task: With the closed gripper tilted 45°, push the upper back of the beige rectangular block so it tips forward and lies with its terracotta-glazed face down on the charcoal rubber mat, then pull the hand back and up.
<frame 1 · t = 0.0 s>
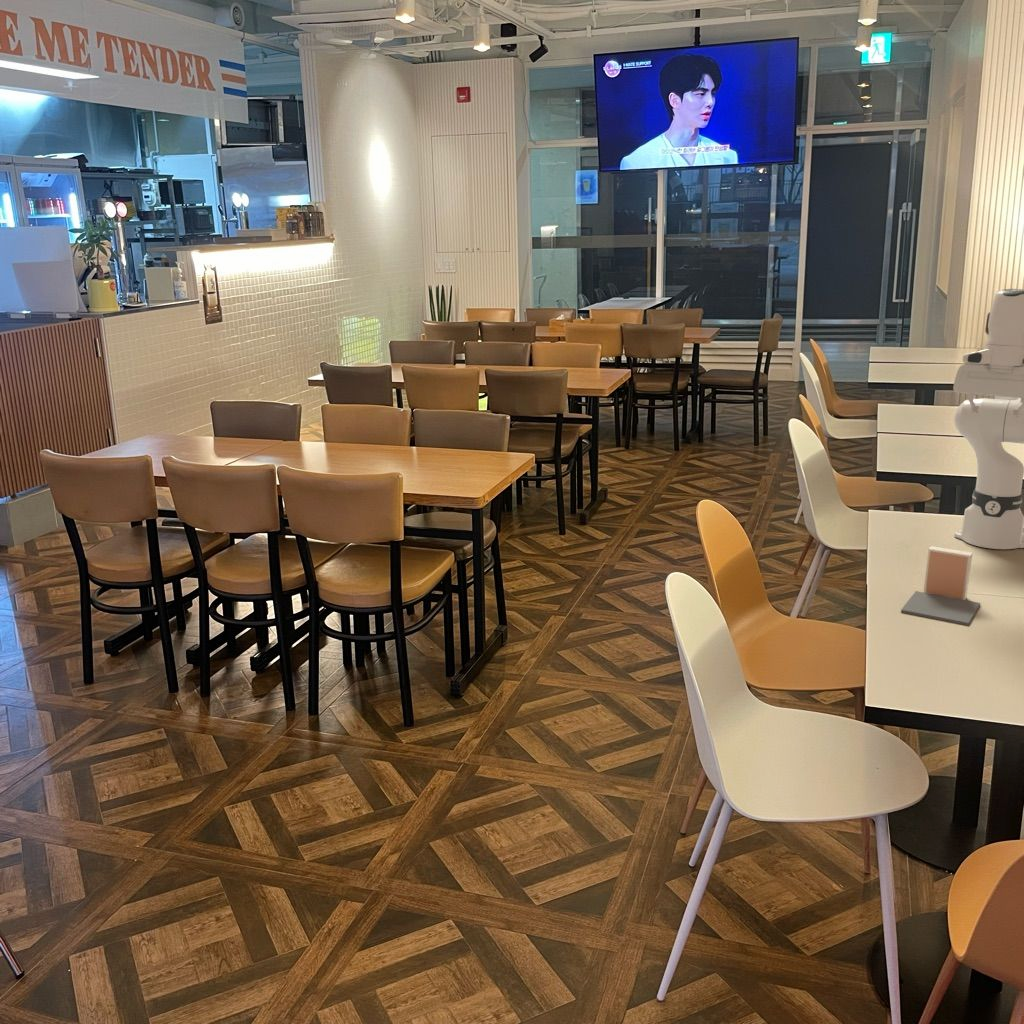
hand: (995, 415, 241), 39 cm above the table, fingers open, 8 cm apart
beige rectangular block: (944, 595, 231), on the table
charcoal mat: (940, 608, 223), on the table
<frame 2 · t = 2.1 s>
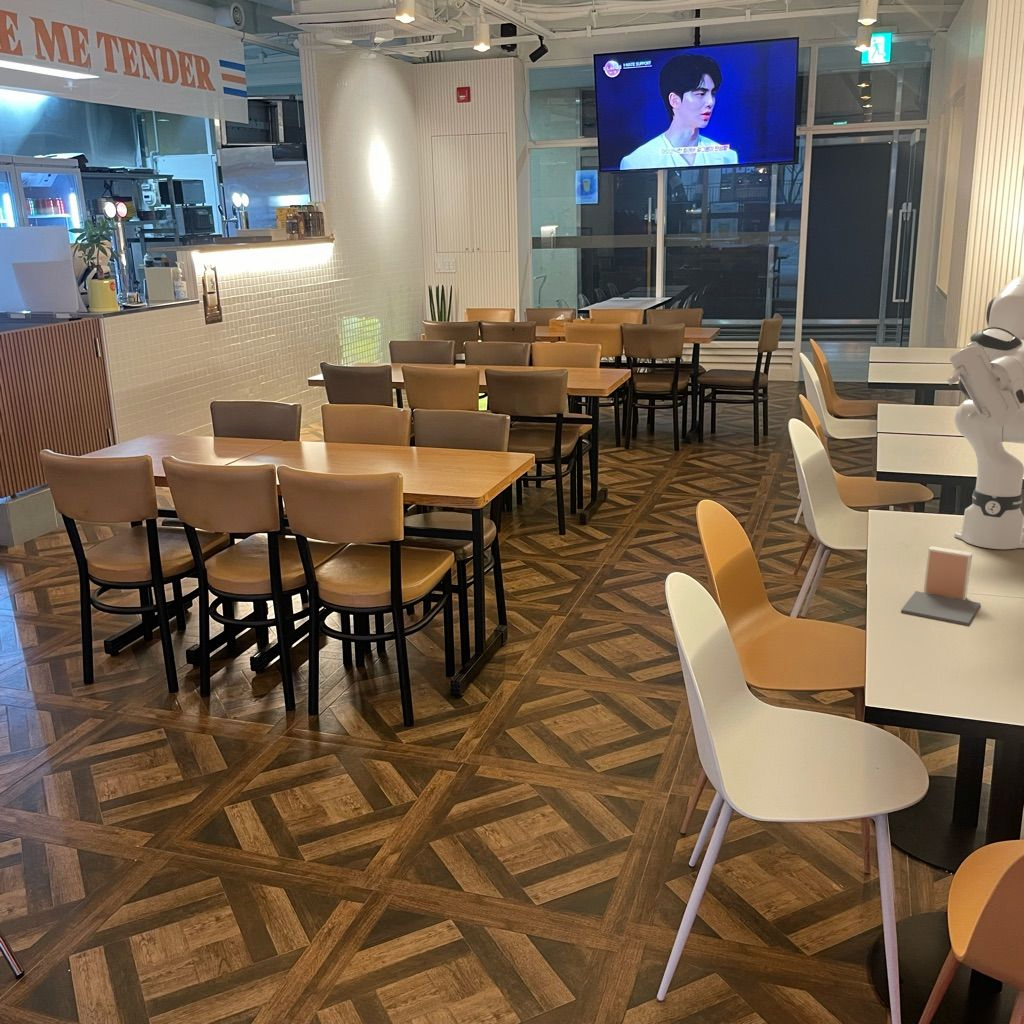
hand: (960, 399, 227), 45 cm above the table, fingers open, 8 cm apart
nothing on the table moved.
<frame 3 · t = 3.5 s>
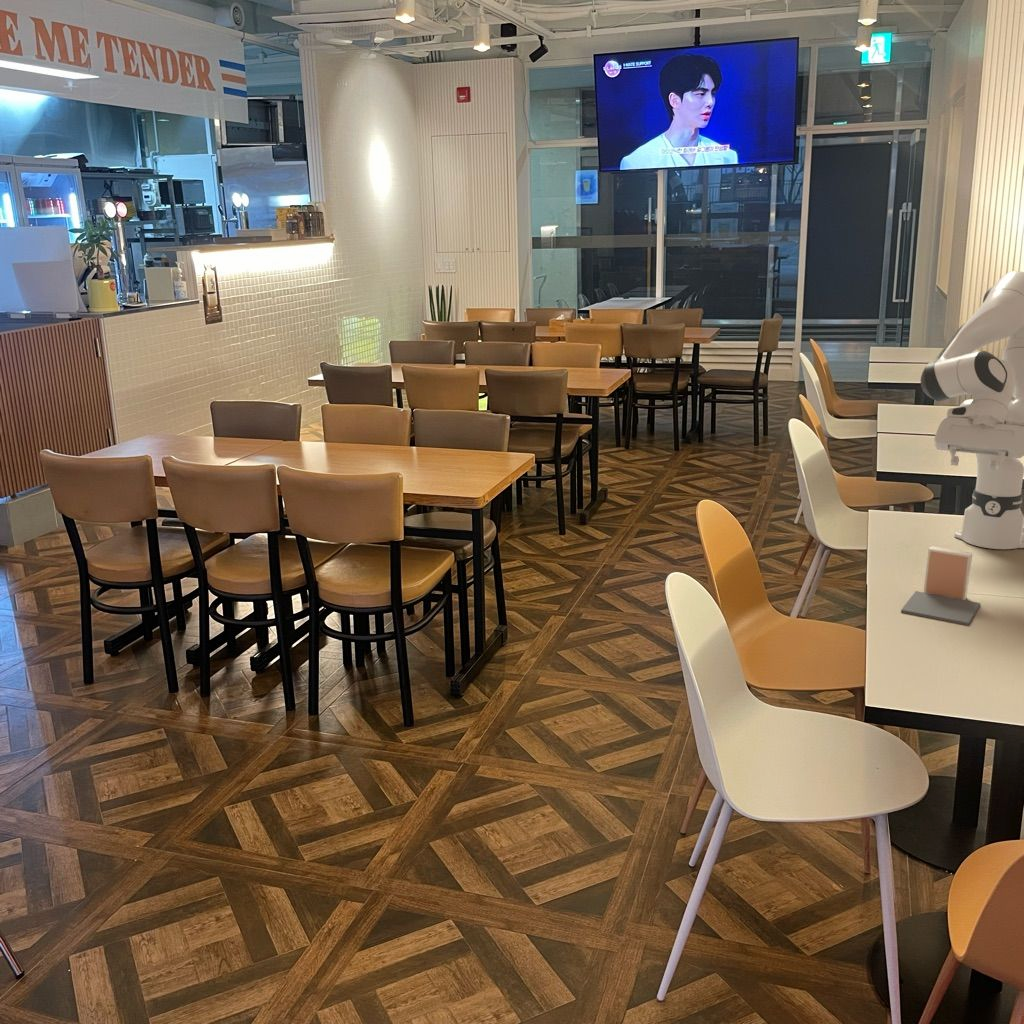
hand: (973, 466, 237), 27 cm above the table, fingers open, 7 cm apart
nothing on the table moved.
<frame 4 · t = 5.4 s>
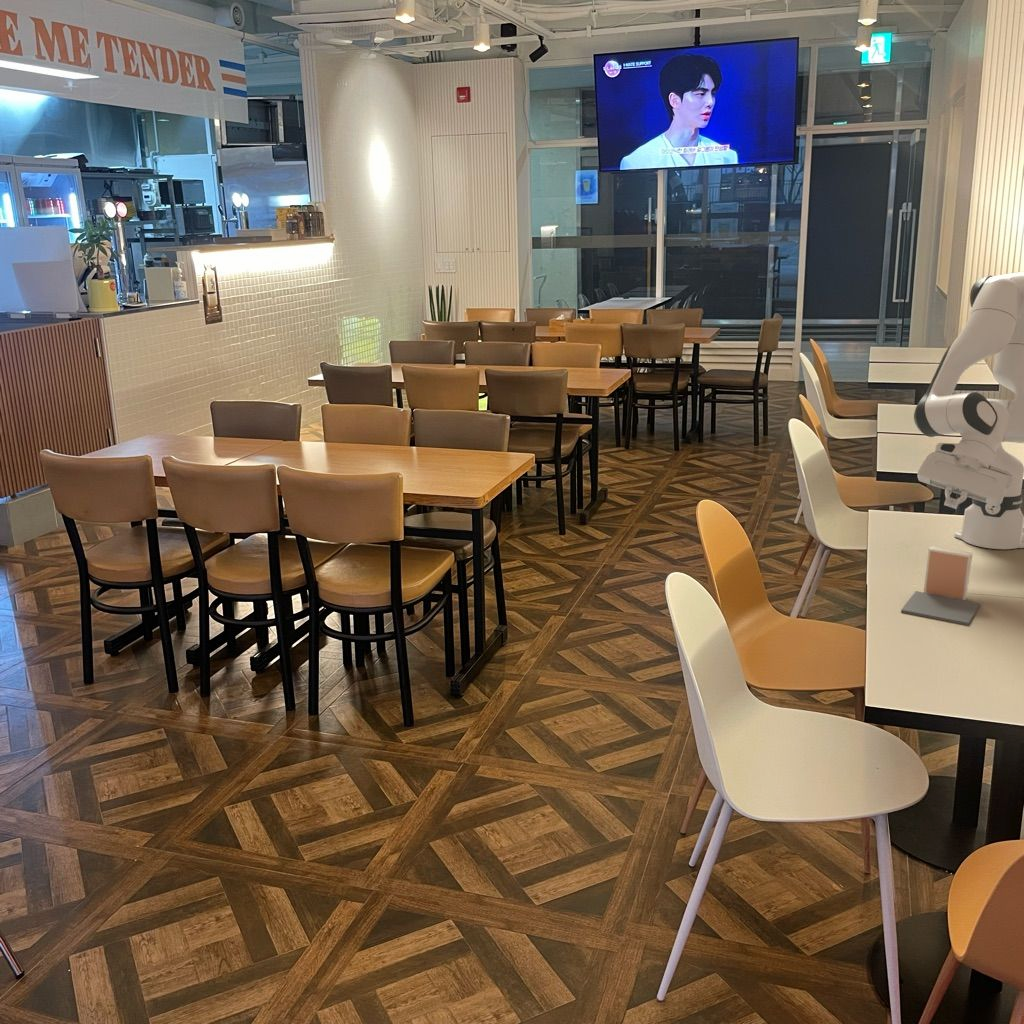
hand: (950, 506, 240), 17 cm above the table, fingers closed
nothing on the table moved.
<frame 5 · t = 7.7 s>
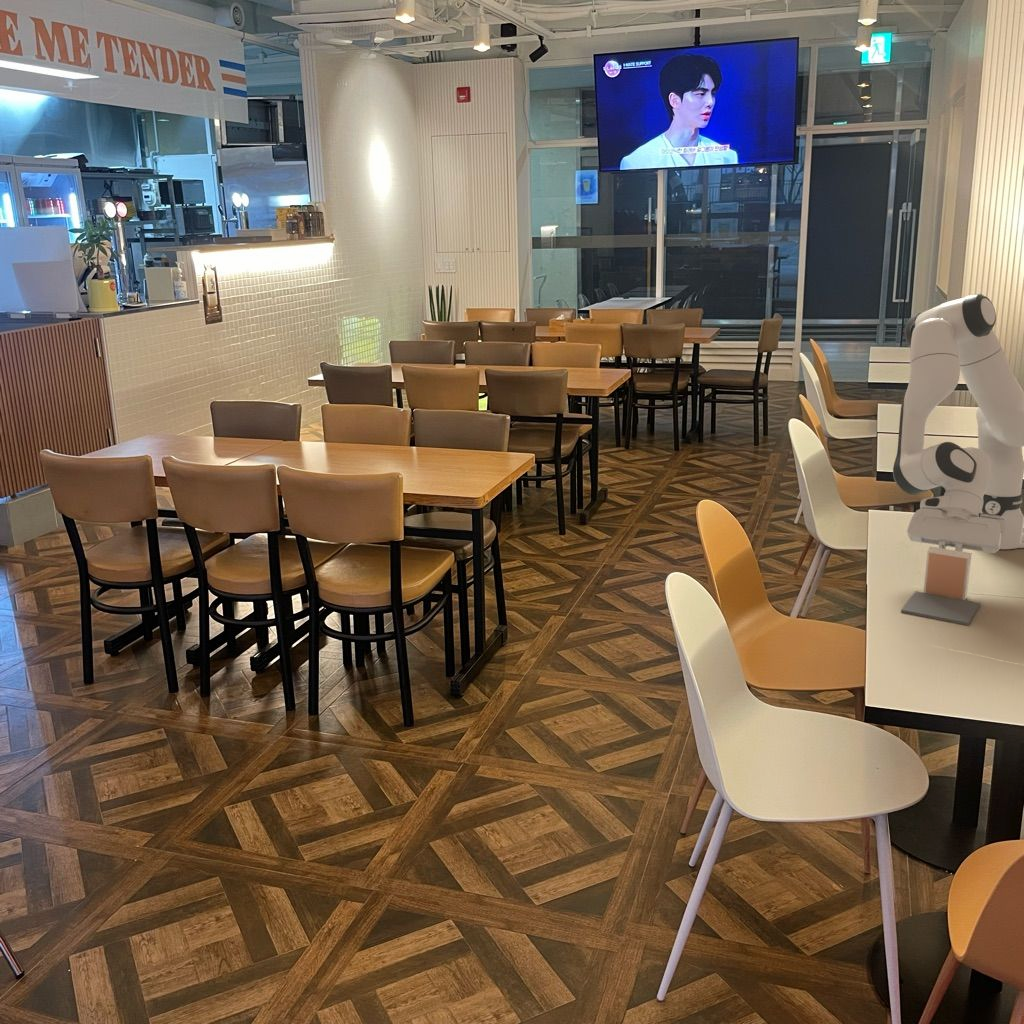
hand: (946, 561, 230), 8 cm above the table, fingers closed
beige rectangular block: (945, 594, 231), on the table, tilted 6°
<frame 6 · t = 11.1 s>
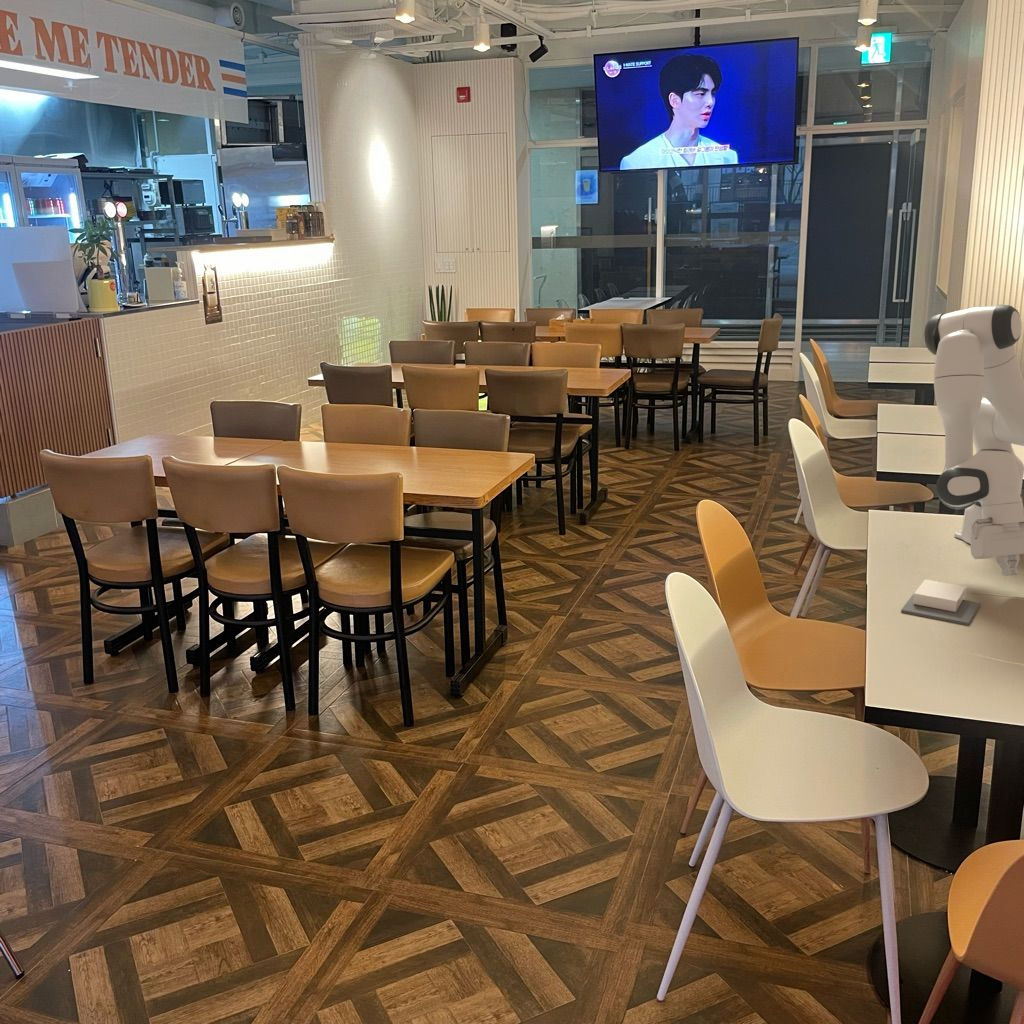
hand: (1010, 575, 232), 4 cm above the table, fingers closed
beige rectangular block: (945, 587, 230), point 2 cm above the table, tilted 90°, touching charcoal mat
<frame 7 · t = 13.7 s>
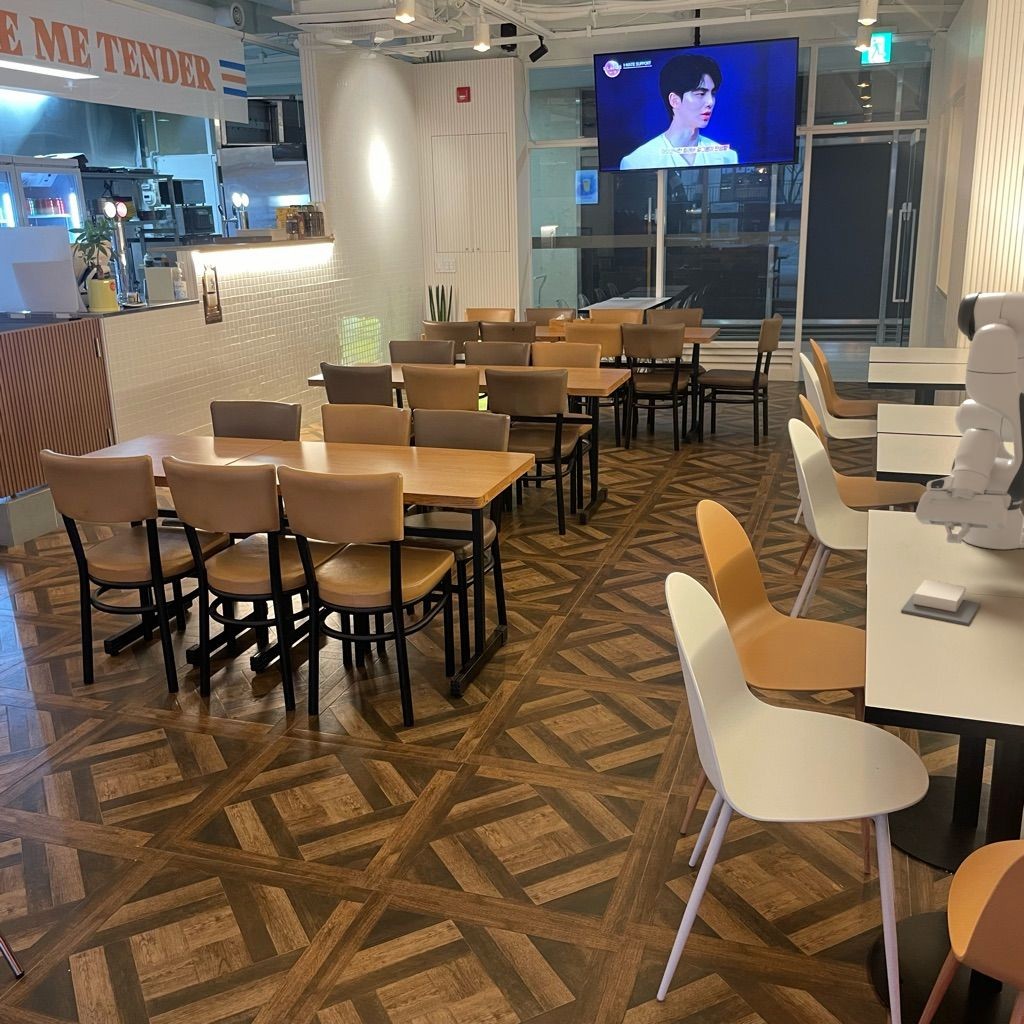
hand: (953, 542, 233), 11 cm above the table, fingers closed
nothing on the table moved.
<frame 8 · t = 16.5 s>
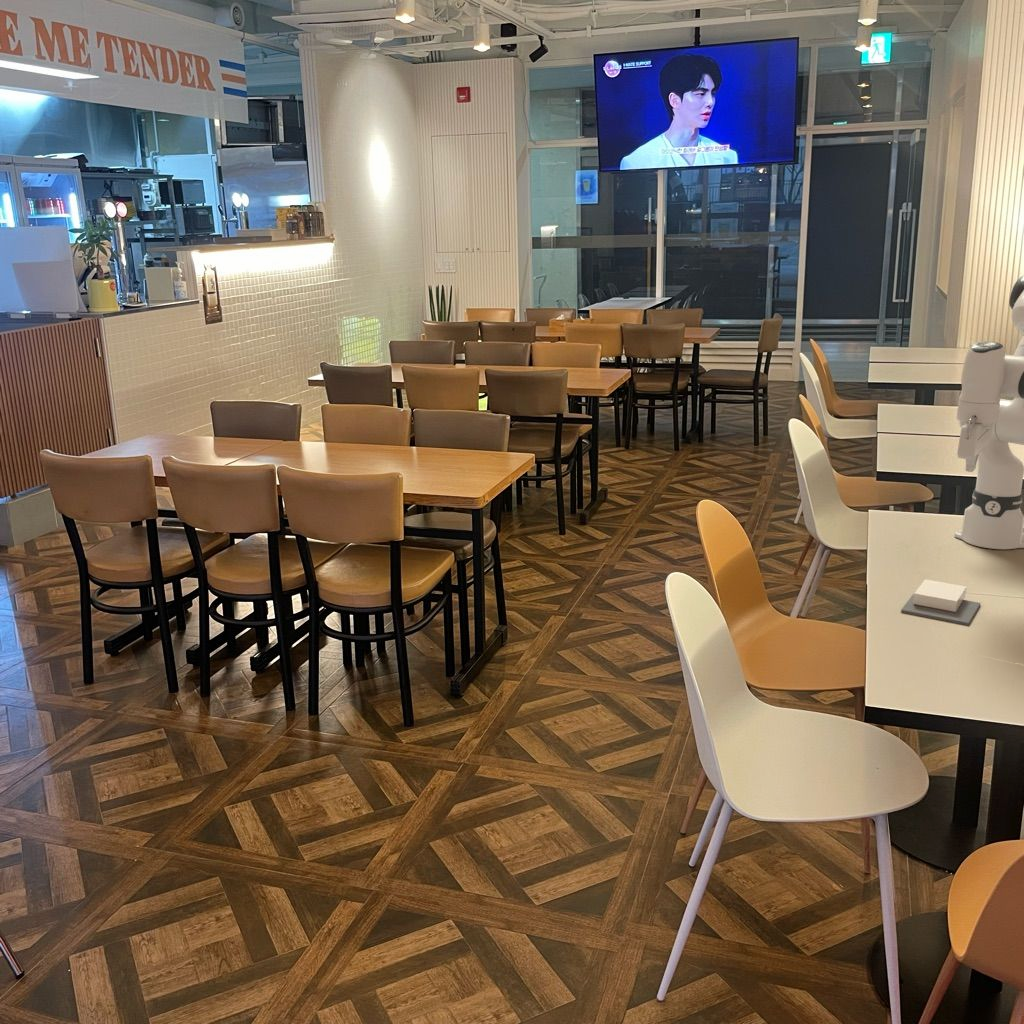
hand: (970, 470, 235), 27 cm above the table, fingers closed
nothing on the table moved.
at the end: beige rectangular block tilted 90°; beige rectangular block touching charcoal mat; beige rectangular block moved 2.4 cm from its start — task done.
